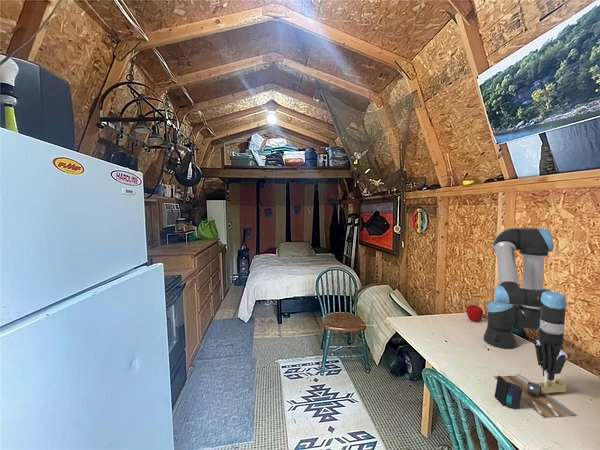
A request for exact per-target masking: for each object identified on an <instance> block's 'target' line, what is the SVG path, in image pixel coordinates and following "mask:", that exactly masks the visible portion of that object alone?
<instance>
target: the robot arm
mask: <svg viewBox="0 0 600 450" xmlns="http://www.w3.org/2000/svg"><path fill="white" fill-rule="evenodd" d="M493 250H494V251H493V252H495V253H496V263H497V273H498V284H499V285H496V286H495V288H494V300H492V301H489V302H488V304H487V325H486V326H487V327H486V330H485V332H484V334H483V341H484V342H485V343H486V344H489V345H490V346H492V347H496V348H500V349H507V350H508V349H509V350H510V349H515V348H517V340H516V336H515V334H514V328H518V329H525V330H530V331H531V330H532V331H535V332H536V331H538V337H539V339H536V340H535V339H534V340H533V341H532V343H533V345H534V348H535V355H536V359H537V360H536V361H537V365H538V366H540V367H541V368H542V376H543V383H545V382H553V381H555V375H558V374H561V372H562V370H563V368H564V365H566V364H565V363H566V361H567V360H568V359H569V358H570V355H569V354H566V353H565V351H564V348H563V344H564V341H565V340H564V339H565V335H564V333H565V327H566V326H565V322H566V310H567V305H568V304H567V296H566V295H565V294H563V293H560V292H556V291H552V290H550V289H548V288H545V287H544V279H545V277H544V276H545V275H544V274H545V258H547V257H549V253H552V252H553V251H554V239H553V236H552V233H551V232H550V230H549V229H547V228H538V227H537V228H533V227H532V228H528V227H527V228H525V227H524V228H523V227H522V228H517V227H513V228H507V229H505V230H503V231H502V232H500V233H499V234H497V236H496V237H495V239H494V241H493ZM516 251H519V255H521V256H522V259H523V261H522V288H521V287H520V282H519V275H518V268H517V261H516V255H515V252H516Z"/></svg>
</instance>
